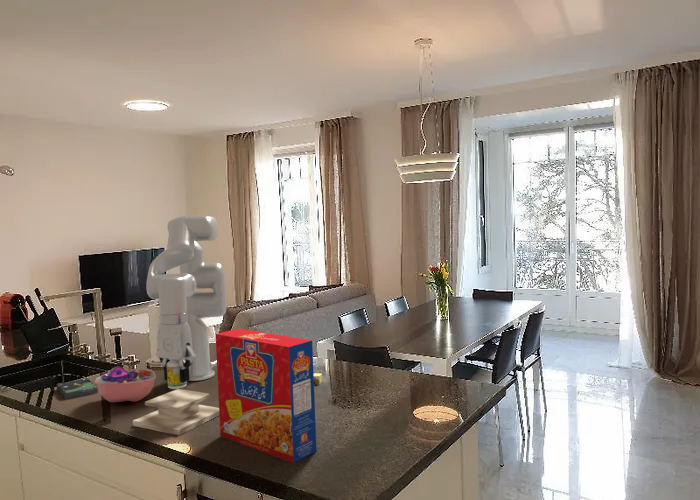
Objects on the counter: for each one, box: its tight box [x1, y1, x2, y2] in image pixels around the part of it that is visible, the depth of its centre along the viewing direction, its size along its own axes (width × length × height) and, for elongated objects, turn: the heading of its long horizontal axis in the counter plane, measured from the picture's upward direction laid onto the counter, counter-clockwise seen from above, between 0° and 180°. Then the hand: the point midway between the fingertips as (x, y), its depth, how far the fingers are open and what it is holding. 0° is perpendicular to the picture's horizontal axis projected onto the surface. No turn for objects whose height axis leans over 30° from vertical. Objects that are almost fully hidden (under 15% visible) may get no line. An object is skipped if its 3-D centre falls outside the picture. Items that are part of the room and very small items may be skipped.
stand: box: [132, 388, 219, 436], centre depth 162 cm, size 18×18×6 cm
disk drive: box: [56, 377, 99, 400], centre depth 194 cm, size 10×3×15 cm
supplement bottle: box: [167, 359, 188, 390], centre depth 161 cm, size 5×5×10 cm
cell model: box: [94, 365, 157, 403], centre depth 181 cm, size 17×20×11 cm
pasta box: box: [214, 328, 318, 464], centre depth 142 cm, size 28×8×28 cm, turn 50°
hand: (177, 379), depth 162 cm, fingers closed on supplement bottle, 5 cm apart
